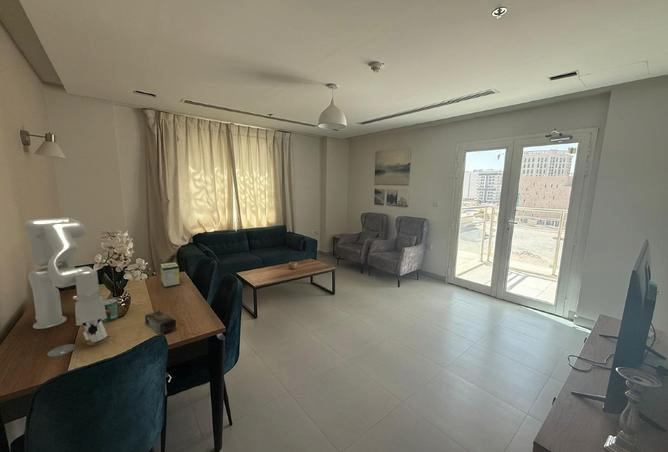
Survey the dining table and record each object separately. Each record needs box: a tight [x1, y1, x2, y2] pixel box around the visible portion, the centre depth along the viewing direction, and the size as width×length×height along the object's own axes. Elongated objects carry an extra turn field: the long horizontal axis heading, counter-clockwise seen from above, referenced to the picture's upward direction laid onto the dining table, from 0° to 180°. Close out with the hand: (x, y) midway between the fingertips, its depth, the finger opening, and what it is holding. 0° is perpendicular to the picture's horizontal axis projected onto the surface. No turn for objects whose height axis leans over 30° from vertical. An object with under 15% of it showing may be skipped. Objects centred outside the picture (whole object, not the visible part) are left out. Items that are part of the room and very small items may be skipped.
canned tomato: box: [101, 298, 119, 324], centre depth 151 cm, size 8×8×11 cm
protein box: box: [159, 261, 181, 289], centre depth 208 cm, size 10×16×16 cm
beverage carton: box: [144, 310, 177, 335], centre depth 145 cm, size 8×19×7 cm, turn 55°
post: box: [86, 334, 110, 346], centre depth 131 cm, size 8×8×7 cm
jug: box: [82, 321, 108, 342], centre depth 129 cm, size 6×9×9 cm, turn 9°
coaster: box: [47, 343, 76, 358], centre depth 122 cm, size 9×9×1 cm
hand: (93, 333), depth 126 cm, fingers closed
